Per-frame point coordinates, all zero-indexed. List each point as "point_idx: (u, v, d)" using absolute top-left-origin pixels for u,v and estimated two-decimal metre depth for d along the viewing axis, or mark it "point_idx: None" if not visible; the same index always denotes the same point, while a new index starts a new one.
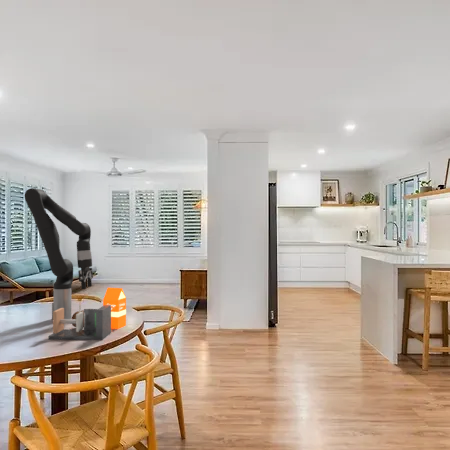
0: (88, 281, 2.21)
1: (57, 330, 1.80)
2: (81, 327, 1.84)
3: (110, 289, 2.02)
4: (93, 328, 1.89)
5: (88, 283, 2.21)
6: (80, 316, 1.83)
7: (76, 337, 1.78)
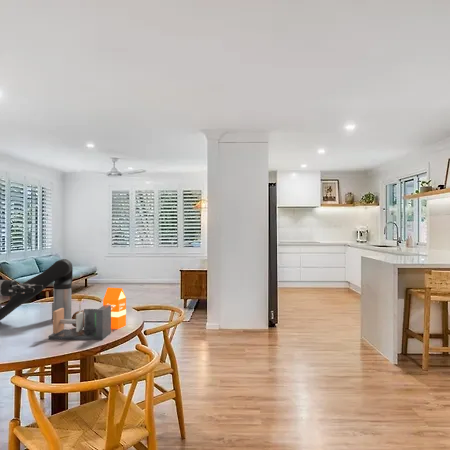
0: (36, 288, 1.88)
1: (57, 330, 1.80)
2: (81, 327, 1.84)
3: (110, 289, 2.02)
4: (93, 328, 1.89)
5: (38, 288, 1.88)
6: (80, 316, 1.83)
7: (76, 337, 1.78)
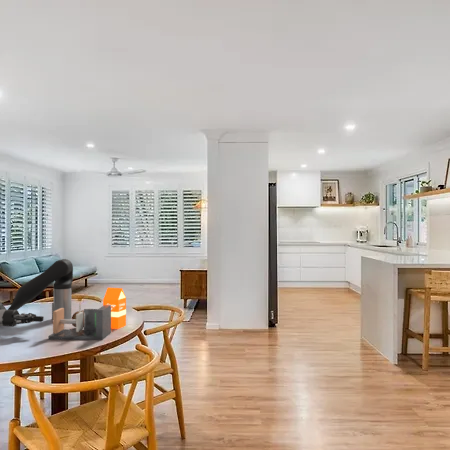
0: None
1: (57, 330, 1.80)
2: (81, 327, 1.84)
3: (110, 289, 2.02)
4: (93, 328, 1.89)
5: None
6: (80, 316, 1.83)
7: (76, 337, 1.78)
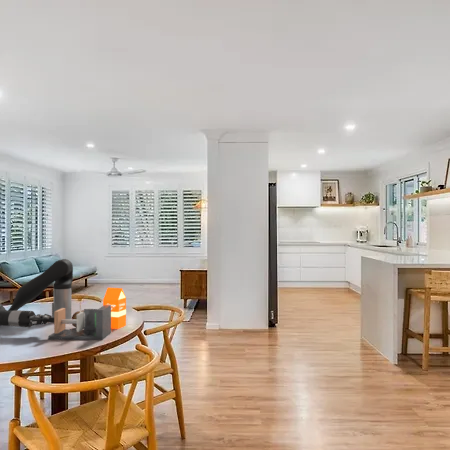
0: None
1: (58, 330, 1.80)
2: (81, 327, 1.84)
3: (110, 289, 2.02)
4: (93, 328, 1.89)
5: None
6: (80, 316, 1.83)
7: (76, 337, 1.78)
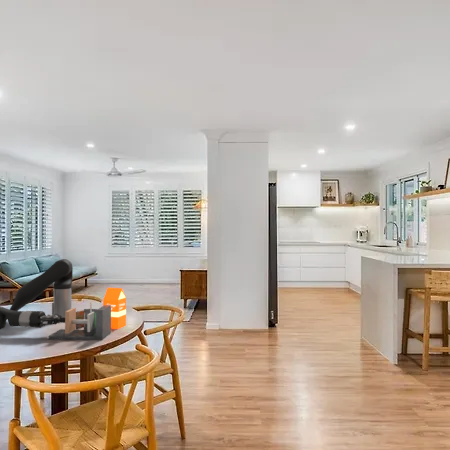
0: None
1: (69, 330, 1.80)
2: (92, 327, 1.84)
3: (110, 289, 2.02)
4: None
5: (64, 321, 1.83)
6: (91, 316, 1.83)
7: (76, 337, 1.78)
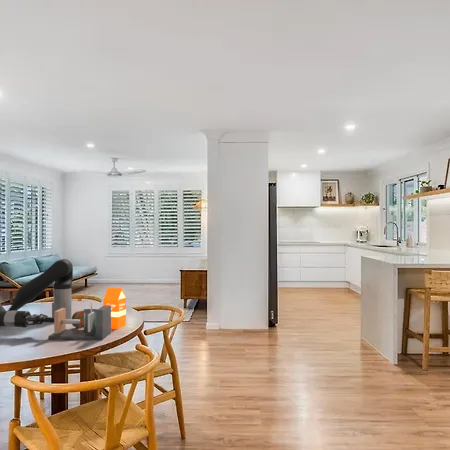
0: None
1: (58, 330, 1.80)
2: (92, 327, 1.84)
3: (110, 289, 2.02)
4: None
5: None
6: (92, 316, 1.83)
7: (76, 337, 1.78)
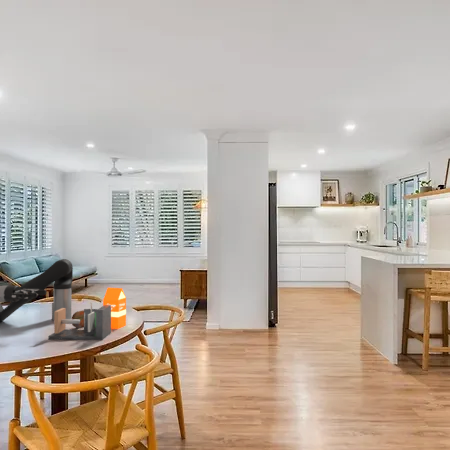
0: (39, 293, 1.87)
1: (58, 330, 1.80)
2: (92, 327, 1.84)
3: (110, 289, 2.02)
4: None
5: (41, 293, 1.87)
6: (92, 316, 1.83)
7: (76, 337, 1.78)
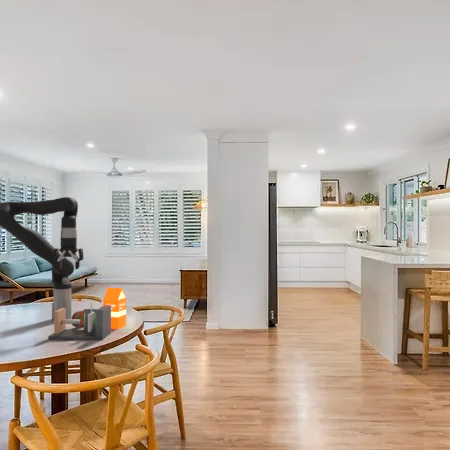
0: (60, 263, 1.97)
1: (58, 330, 1.80)
2: (92, 327, 1.84)
3: (110, 289, 2.02)
4: None
5: (60, 265, 1.97)
6: (92, 316, 1.83)
7: (76, 337, 1.78)
